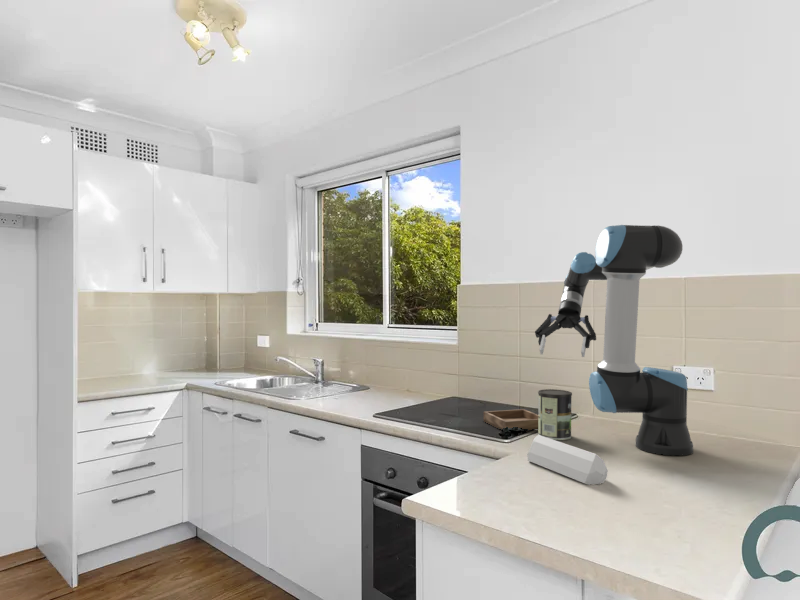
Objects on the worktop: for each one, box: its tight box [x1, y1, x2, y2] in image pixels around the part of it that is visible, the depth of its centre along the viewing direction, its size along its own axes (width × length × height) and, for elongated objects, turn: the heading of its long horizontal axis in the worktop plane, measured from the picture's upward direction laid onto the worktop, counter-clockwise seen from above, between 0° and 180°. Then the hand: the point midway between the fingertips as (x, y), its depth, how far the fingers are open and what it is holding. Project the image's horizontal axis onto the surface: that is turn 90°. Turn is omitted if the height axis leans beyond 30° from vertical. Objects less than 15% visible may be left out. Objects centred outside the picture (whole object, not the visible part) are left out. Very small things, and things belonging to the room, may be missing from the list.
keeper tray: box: [482, 408, 538, 430], centre depth 186 cm, size 16×16×4 cm
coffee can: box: [537, 388, 573, 441], centre depth 172 cm, size 10×10×14 cm
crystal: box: [526, 434, 609, 486], centre depth 138 cm, size 7×7×24 cm
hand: (561, 353), depth 182 cm, fingers open, 13 cm apart
